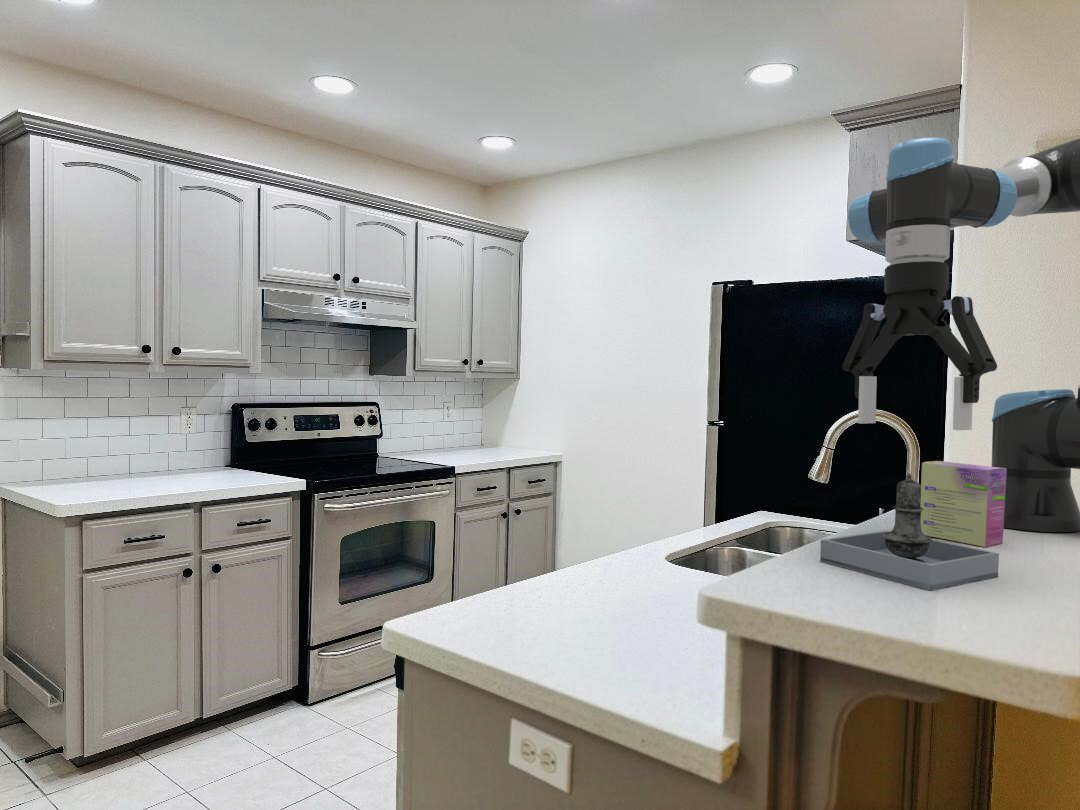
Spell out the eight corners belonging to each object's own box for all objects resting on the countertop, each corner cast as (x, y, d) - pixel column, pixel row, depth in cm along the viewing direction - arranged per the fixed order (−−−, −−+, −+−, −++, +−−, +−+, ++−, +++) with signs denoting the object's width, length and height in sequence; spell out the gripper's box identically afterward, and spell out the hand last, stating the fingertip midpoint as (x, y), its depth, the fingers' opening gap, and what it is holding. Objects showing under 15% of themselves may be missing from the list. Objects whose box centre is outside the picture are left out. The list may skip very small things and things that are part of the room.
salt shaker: (937, 570, 98) (940, 477, 98) (888, 568, 99) (891, 475, 99) (923, 559, 104) (926, 471, 104) (877, 557, 105) (879, 469, 105)
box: (1004, 543, 119) (1007, 467, 118) (985, 548, 115) (988, 469, 115) (937, 531, 127) (939, 460, 127) (918, 535, 124) (920, 462, 123)
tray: (886, 550, 112) (887, 530, 112) (998, 576, 98) (998, 553, 98) (820, 561, 105) (820, 539, 105) (930, 590, 91) (931, 565, 91)
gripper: (818, 271, 109) (815, 421, 110) (997, 247, 88) (991, 434, 89) (853, 275, 113) (850, 420, 114) (1033, 253, 92) (1027, 432, 93)
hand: (911, 426), depth 101 cm, fingers open, 13 cm apart
